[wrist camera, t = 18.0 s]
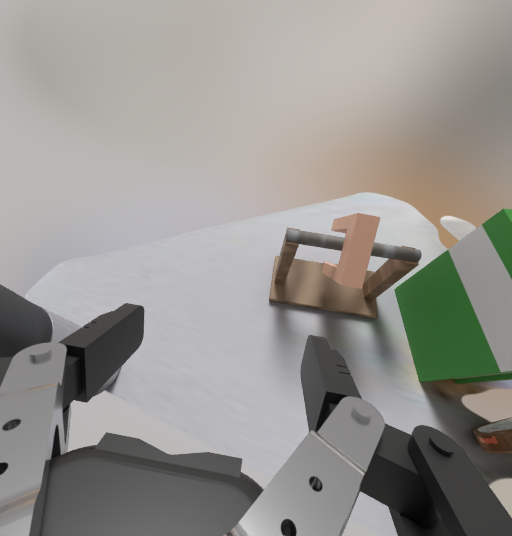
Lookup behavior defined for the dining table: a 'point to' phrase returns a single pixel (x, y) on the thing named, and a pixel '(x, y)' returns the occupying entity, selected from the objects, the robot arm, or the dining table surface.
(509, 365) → the hardback book
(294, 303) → the wooden rack with bar
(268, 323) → the dining table surface
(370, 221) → the pink c-shaped hook
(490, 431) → the tin
